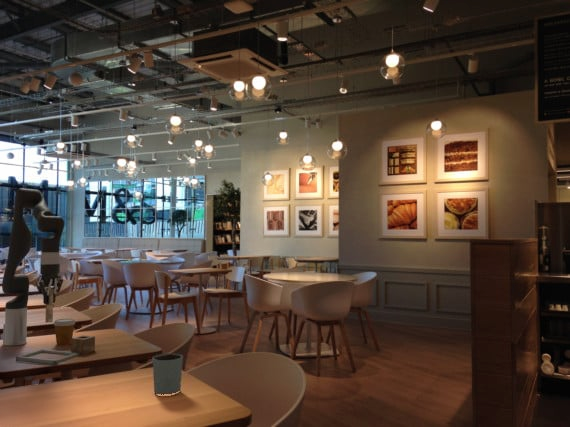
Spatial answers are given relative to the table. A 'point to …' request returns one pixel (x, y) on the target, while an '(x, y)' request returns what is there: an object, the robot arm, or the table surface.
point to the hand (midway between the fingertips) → (49, 303)
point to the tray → (46, 361)
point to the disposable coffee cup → (64, 330)
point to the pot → (83, 344)
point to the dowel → (49, 307)
